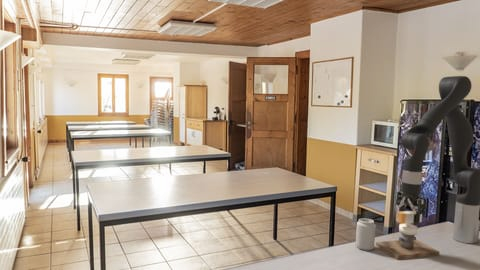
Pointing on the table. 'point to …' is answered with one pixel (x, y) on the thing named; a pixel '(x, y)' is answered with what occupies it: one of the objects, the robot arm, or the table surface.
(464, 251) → the table surface
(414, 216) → the robot arm
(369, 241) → the can
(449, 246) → the table surface
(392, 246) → the lock base
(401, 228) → the twist knob
